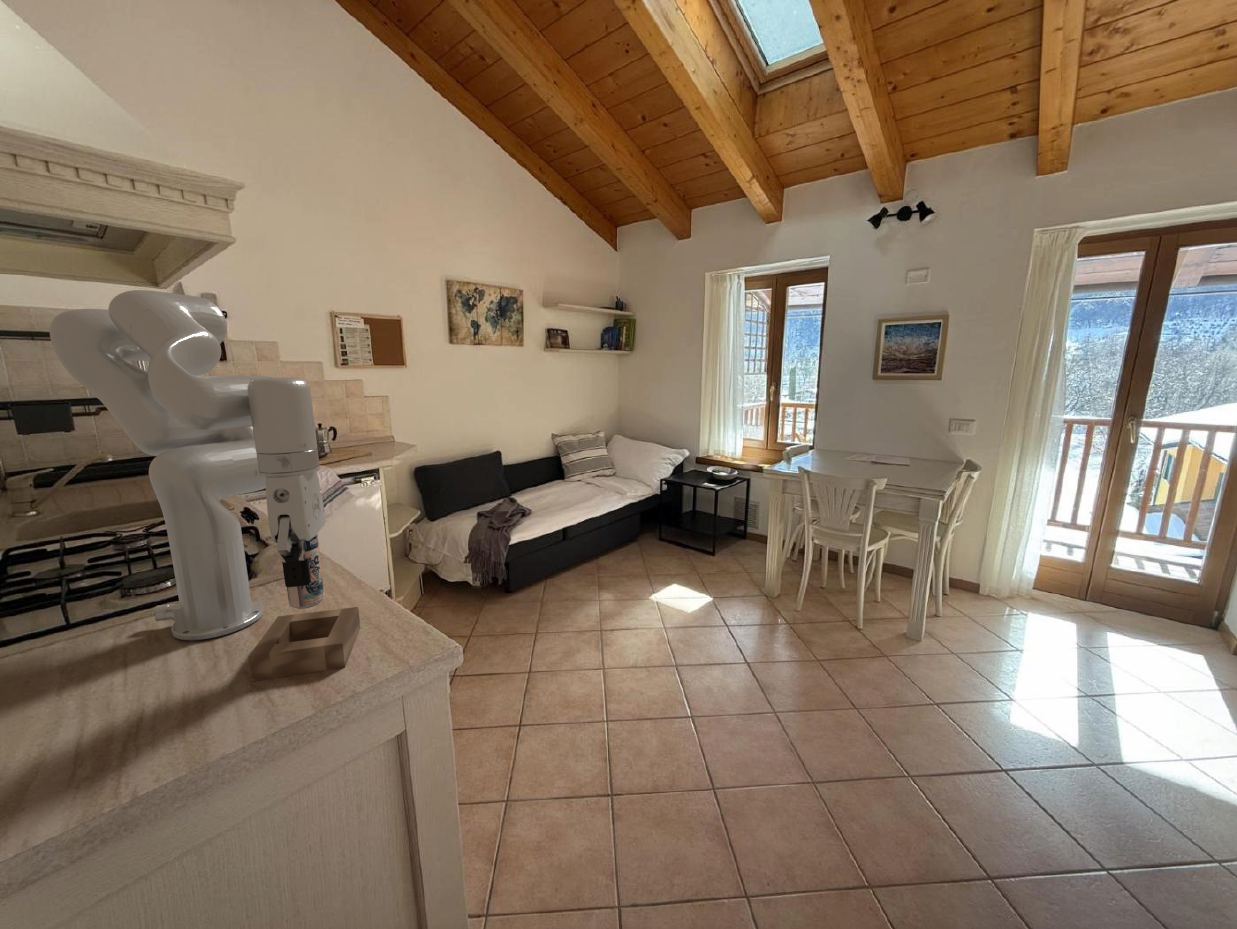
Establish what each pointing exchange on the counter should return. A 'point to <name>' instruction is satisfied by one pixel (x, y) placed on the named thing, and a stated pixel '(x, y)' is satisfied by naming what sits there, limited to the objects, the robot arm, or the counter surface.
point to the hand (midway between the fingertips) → (304, 577)
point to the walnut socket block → (305, 643)
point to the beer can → (315, 590)
